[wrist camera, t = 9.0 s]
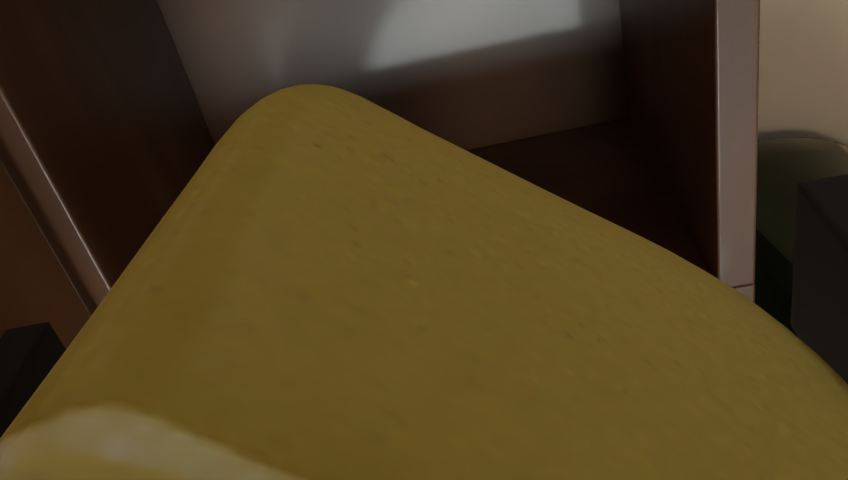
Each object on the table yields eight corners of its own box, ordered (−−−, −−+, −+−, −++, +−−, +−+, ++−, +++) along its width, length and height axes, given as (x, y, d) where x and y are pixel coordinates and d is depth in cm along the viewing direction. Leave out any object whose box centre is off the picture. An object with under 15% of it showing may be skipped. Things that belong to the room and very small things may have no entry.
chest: (620, -322, 24) (768, -346, 14) (649, 124, 32) (755, 312, 22) (65, -177, 26) (-159, -107, 16) (226, 207, 34) (145, 413, 24)
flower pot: (781, 190, 13) (1271, 834, 6) (498, 493, 17) (561, 1091, 10) (291, -84, 11) (-9, 404, 3) (102, 347, 15) (-216, 992, 7)
